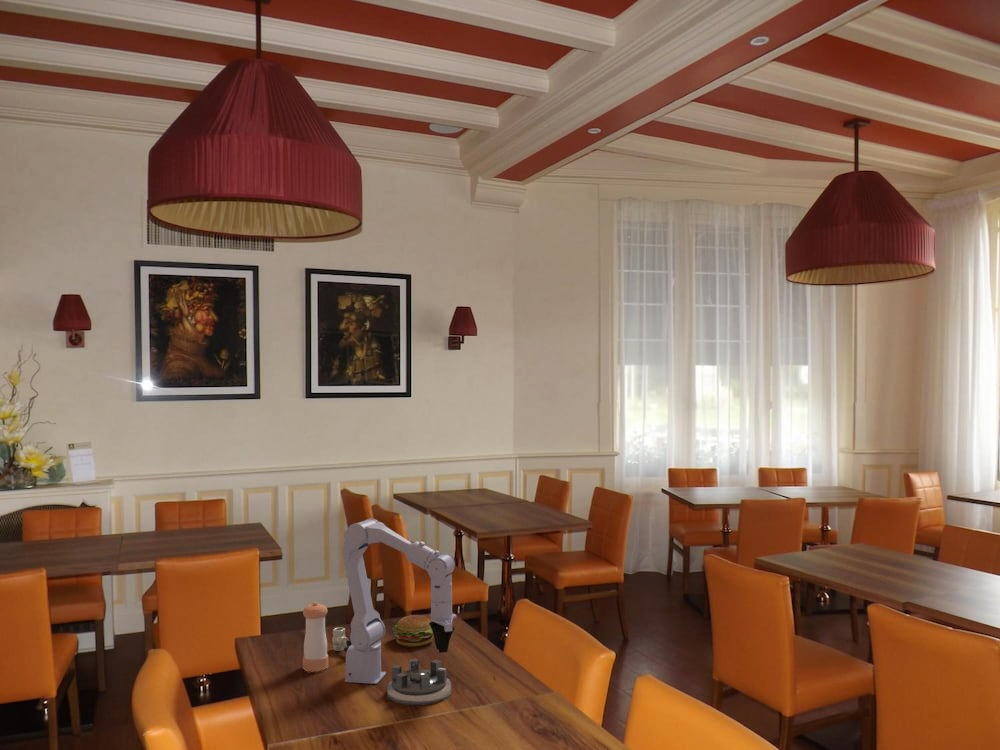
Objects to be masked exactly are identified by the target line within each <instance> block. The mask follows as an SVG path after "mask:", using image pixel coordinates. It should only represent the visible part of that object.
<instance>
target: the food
mask: <svg viewBox="0 0 1000 750" xmlns="http://www.w3.org/2000/svg"><path fill="white" fill-rule="evenodd" d="M430 622H432V621H431V620H430V618H428V616H425V615H421V614H411V615H407V616H404V617H402V618H401V619H400V620H399V621H398V622H397V624H395V625H394V627H392V628H391V629H392V631H393V633H392V634H393V635H394V637H395V639H396V640H395V641H396V643H397V644H398V645H400V646H405V647H409V648H410V647H411V648H412V647H422V646H426V645H428V644H431V642H432V641H433V639H434V638H433V637H434V635H433V631H432V629H431V627H430V625H429V623H430Z"/></svg>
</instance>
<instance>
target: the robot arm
mask: <svg viewBox="0 0 1000 750" xmlns="http://www.w3.org/2000/svg"><path fill="white" fill-rule="evenodd" d="M343 538H344V540H343V541H344V542H343V547H342V552H341V553H342V558H343V559H342V560H343V564H344V570H345V575H346V578H347V580H346V581H347V583H348V589H349V594H350V598H351V599H350V600H351V604H352V609H353V610H352V611H353V614H354V615H353V617H352V619H351V622H350V629H351V631H350V636H349V638H350V639H349V641H351V643H352V646H349V648H348V650H347V652H346V655H345V679H344V682H345V683H355V684H357V683H358V684H371V685H372V684H374V685H377V684H378V683H379V682H381V680H382V679H383V678H384V677H385V676H386V674H387V671H382V639H383V638H384V636H385V635H386V626H385V623H384V622H383V621H382V619H381V616H380V613H379V612H378V611H377V610H375V608H374V604H373V599H372V594H371V589H370V585H369V580H368V575H367V570H366V566H365V565H366V564H365V560H364V557H363V556H364V553H366V550H367V549H368V547H369V546H370V545H371V544H375V543H377V544H378V543H382V544H384V545H386V546H389V547H391V548H392V549H395V550H397V551H399V552H401V553H403V554H405V556H406V557H405V558H406V560H407V561H409V562H410V563H412V564H414V565H416V566H418V567H419V568H421V569H423V570H424V571H426V572H427V574H428V576H429V578H430V616H429V617H430V618H429V620H430V621H431V622H430V623H429V625H430V627H431V629H432V631H433V635H432V636H433V637H434V638H433V639H434V644H435V648H436V650H438V652H439V653H440V654H443V653H448V650H449V647H450V646H449V645H450V640H451V637H452V635H453V633H454V632H455V626H454V625H453V619H454V620H455V619H457V614H456V613H453V574H452V573H453V572H454V570H455V568H456V562H455V559H454V558H453V557H452V555H450V554H449V553H447V552H443V553H440V551H439V550H435V549H433V548H431V547H430V546H427V545H426V542H424V541H414V542H411V541H410V540H408V539H407V538H405V537H403V535H402V536H401V535H400V534H398V533H397V532H395V531H394V530H392V529H391V528H389V527H388V526H387V525H386V524H385V523H383V522H382V521H379V520H377V519H376V518H371V517H370V518H367V519H365V520H363V521H360V522H355V523H352V524H350V525H349V526H348V527H347V528H346V530H345V531H344V533H343Z"/></svg>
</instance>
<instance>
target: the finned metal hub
mask: <svg viewBox="0 0 1000 750" xmlns="http://www.w3.org/2000/svg"><path fill="white" fill-rule="evenodd" d="M419 663H420V662H419V659H418V658H416V657H415V658H411V659H409V660H408V670H405V671H403V670H402V664H394V665H393V666H392V667H391V681H392V688H393V689H394V690H396V691H397V692H400V693H404V694H410V695H422V694H429V693H433V692H436V691H439V690H441V689H442V688H444V687H445V686H446V683H447V678H448V675H447V673H448V671H447V667H442V660H438V659H434V660H431V661H430V669H429V668H419V666H420V665H419Z"/></svg>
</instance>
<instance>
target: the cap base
mask: <svg viewBox="0 0 1000 750" xmlns="http://www.w3.org/2000/svg"><path fill="white" fill-rule="evenodd" d="M386 688H387V689H386V690H387V691H386V692H387V694H386V696H387V698H388V699H389V700H390V701H391V702H393V703H396V704H398V705H403V706H412V707H413V706H414V707H415V706H429V705H433V704H436V703H440V702H442V701H444V700H447V698H448V697H450V695H451V693H452V681H451V680H450V679H449V678H448V677H447V683H446V686H445V687H444V688H442V689H441V690H439V691H436V692H433V693H429V694H422V695H410V694H404V693H400V692H397V691H396V690H394V689H393V688H392V680H390V681H389V682H388V684H387V687H386Z"/></svg>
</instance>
